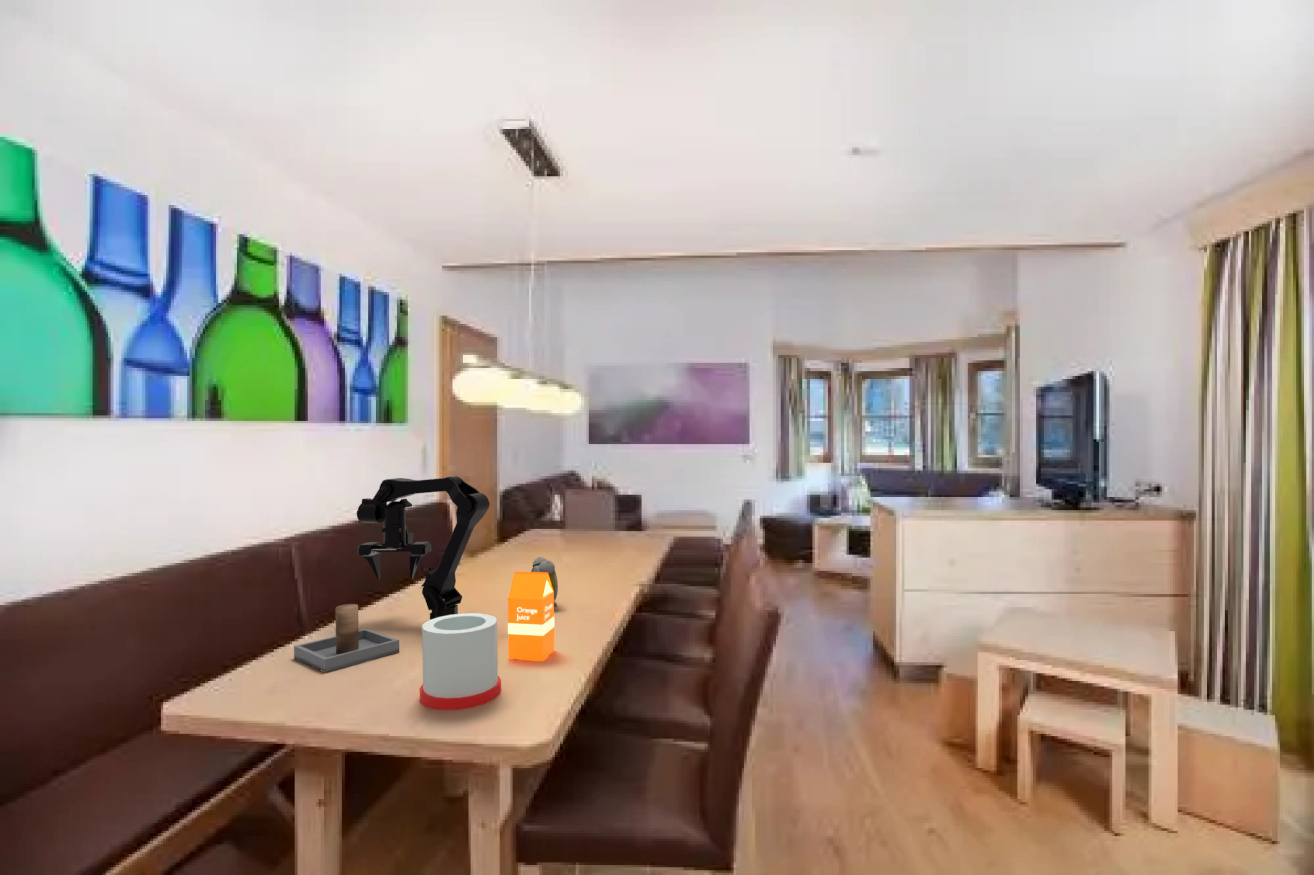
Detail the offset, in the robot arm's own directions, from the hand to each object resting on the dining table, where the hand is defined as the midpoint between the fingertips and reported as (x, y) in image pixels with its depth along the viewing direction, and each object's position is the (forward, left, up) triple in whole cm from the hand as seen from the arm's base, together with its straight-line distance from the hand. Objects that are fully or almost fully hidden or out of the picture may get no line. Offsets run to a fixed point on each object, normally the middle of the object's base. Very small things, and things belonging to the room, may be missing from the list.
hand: (395, 579), depth 189 cm
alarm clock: (-39, -18, -13) cm, 45 cm away
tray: (+2, +25, -13) cm, 28 cm away
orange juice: (-43, +26, -13) cm, 52 cm away
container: (-33, +50, -13) cm, 61 cm away
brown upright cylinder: (+2, +25, -12) cm, 28 cm away
